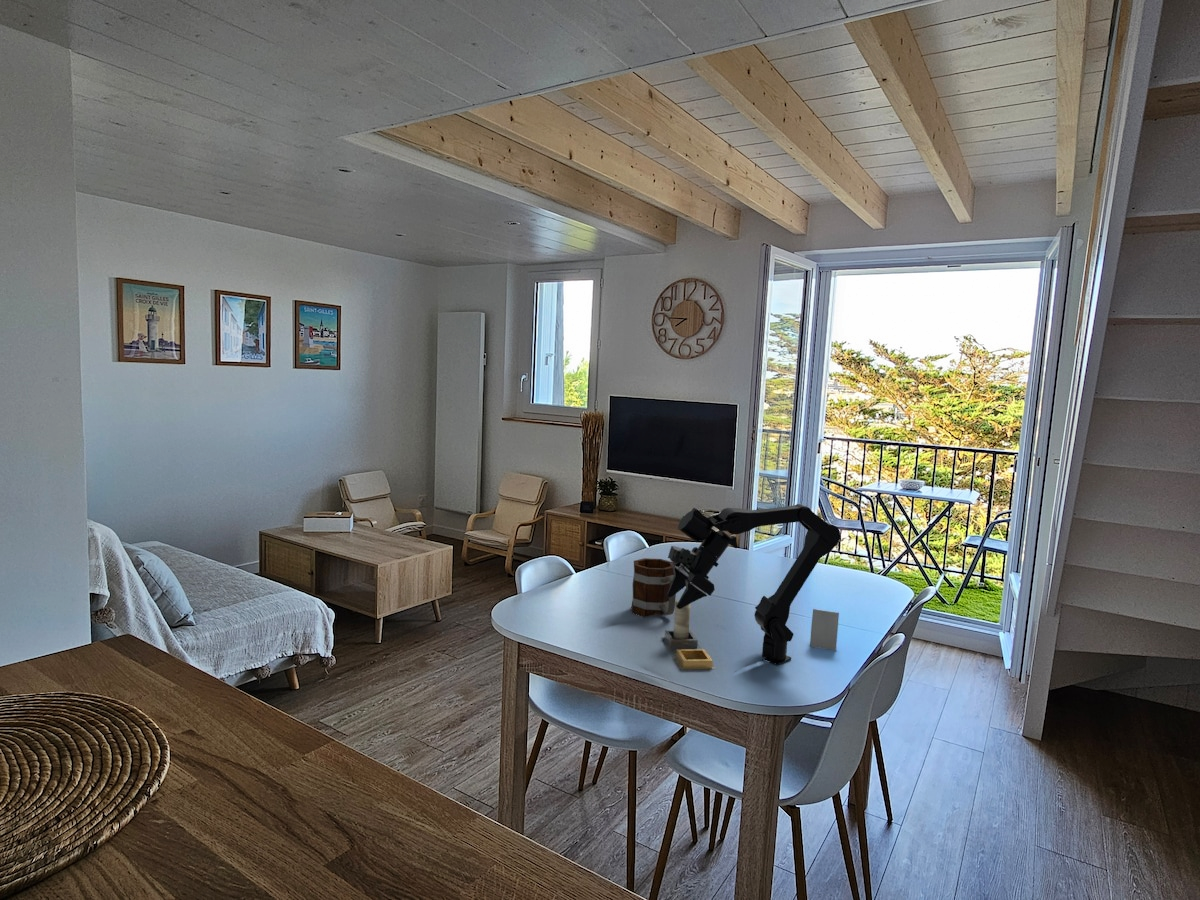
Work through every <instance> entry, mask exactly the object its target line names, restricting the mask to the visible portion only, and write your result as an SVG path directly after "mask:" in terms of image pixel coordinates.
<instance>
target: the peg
mask: <svg viewBox="0 0 1200 900" xmlns="http://www.w3.org/2000/svg"><path fill="white" fill-rule="evenodd" d="M679 600H680V599H678V600H675V609H674V621H673V631H674V636H673V639H688V638H689V630H690V620H691V617H690V616H691V603H690V604H689V605H687V606H685V607H683V608H681V609H678V608H677V607H676V606H677V604H678V602H679Z"/></svg>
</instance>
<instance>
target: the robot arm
mask: <svg viewBox="0 0 1200 900" xmlns="http://www.w3.org/2000/svg"><path fill="white" fill-rule="evenodd" d="M791 523H799V524H800V525H801V526H802V527H803V528H804V529H806V530H807V531H806V534H805V535H804V544H803V548H802V550H801V552H799V555H798V556H797V558H796V559H795V561H794V562H793V564H792V565H791V567H790V569H789V570H788V572H787V573H786V574H785V577H784V578H783V580H782V581H781V583H779V586H778V588H777V589H776V591H775V593H773V594H772V595H771V596H769V597H767V596H766V595H763V596H762V597H761V598H760V601H759V603H758V604H757V605H756V606H755V607H754V608H755V611H754V619H755V622H756V623H757V624H758V625H759V626H760V629H761V630H762V631H763V632H764V635H763V639H762V640H763V642H762V649H761V650H762V652H761V656H762V657H763V658H762V660H763V661H765V662H769V663H770V664H773V665H775V666H778V665H782V664H784V663H786V662H788V661H791V660H792V657H791V656H790V655H787V650H788V642H792V639H793V637H794V632H793V631H792V630H791V629H789V627H788V626H787V622H788V619H789V616H790V610H791V606H792V603H793V602H794V600H795V599H796V597H797V596H798V594H799V592H800V591H801V589H802V587H803V586H804V584H805V583H806V581H807V579H808V578H809V576H810V575H811V574H812V572H813V571H814V569H815V567H816V566H817V564H818V563H819V561H820V559H821V558H823V557H825V556H826V555H828V554H829V553H831V552H832V551H833V549H835V547H836V546H837V545H838V544H839V542H840V540H841V539H842V535H841V531H840V529H839V527H838V526H837V525H834V524H832V523H829V522H827V521H825V520H824V519H822V517H820V516H819V515H817V514H816V513H815V512H814V511H812V510H811V508H810V507H808V506H805V505H803V504H801V503H797V504H794V505H786V506H780V507H779V506H777V507H770V508H759V509H747V508H746V509H745V508H741V507H740V508H738V507H737V508H736V507H726V508H723V509H721V511H720V512H719V513H717V514H715V515H712V516H708V517H707V516H706V515H704V514H703V513H702V512H701V511H700V510H699V509H697V508H695V507H692V509H691V511H688V512H687V513H686V514H685V515H683V516H682V518H680V521H679V523H678V524H677V525H678V526H677V530H679V531H680V532H681V533H682V534H684V535H685V536H687V537H688V538H690V539H691V540H692V541H693V542H696V543H698V542H701V543H700V544H699V546H698V547H697V546H695V547H693V548H692V549H691V550H689V549H687V548H684V547H683V548H682V547H679V546H676V545H675V546H674V545H671V546H670V549H669V553H668V556H667V558H668V559H669V561H670V562H672V563H673V564H674V565H675V567H674V566H672V568H673V571H674V577H673V580H672V583H671V585H670V588H669V591H668V593H667V596H668V597H672V596H673V595H675V594H676V595H677V594H678V593H679V592H680V591H682V589H684V588H685V589H684V591H683V592H682V594H681V596H680V598H679V599H678V600H679V602H678V604H677V606H676V607H677V608H678V609H681V608H683V607H685V606H687V605H689V604H690V605H691V604H692V603H694V602H696V601H699V600H700V599H702V598H705V597H708V596H712V594H713V592H714V591H716V590H715V584H714V583H713V582H712V581H711V580H710V579H709V578H710V577H709V576H708V575H709V573H710V572H711V570H712V569H713V567H715V568H717V567H718V566H719V562H718V560H719V559H720V558H721V556H722V555H723V554H724V552H725V551H726V550H727V549H728V547H729V546H731V547H733V548H734V549H738V547H739V546H738V543H737V537H736V536H735V535H740V534H743V533H747V532H749V531H752V530H753V529H755V528H759V527H764V526H773V525H784V524H791ZM713 527H714V528H715V529H717V530H719V531H716V530H715V529H713ZM726 532H727V533H729V534H731V535H728V534H727V533H726Z"/></svg>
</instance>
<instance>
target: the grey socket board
mask: <svg viewBox="0 0 1200 900" xmlns="http://www.w3.org/2000/svg"><path fill="white" fill-rule="evenodd" d="M673 636H674V630H664V637H660V638H661V640H662V642H663V643H664V646H665V647H666V648H667V650H668V651H669V653H670V655H671V657H672V658H673V660H674V662H675V663H676V665H677V667H678V669H679V670H681V671H682V670H717V668H716V667H715V665H714V664H713V659H712V658H711V656H710V654H709V653H708V652H707V651H706V650H705V648H702V647H701V646H700V645H699V643H698V642H699V640H698V638H697V637H696V636H695V634H694V633H693V631H692V630H690V629H689V638H688V639H673Z"/></svg>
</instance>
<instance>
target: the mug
mask: <svg viewBox="0 0 1200 900" xmlns="http://www.w3.org/2000/svg"><path fill="white" fill-rule="evenodd" d="M672 566H674V567H675V565H674V564H673V563H672V561H671V560H666V559H662V558H649V557H648V558H646V557H644V558H641V559H636V560H635V559H634V560H633V579H632V601H631V602H632V603H631V606H630V607H631V608H632V609H631V613H632V614H633V613H634V614H633V615H636V614H637V615H636V616H638V615H639V616H638V617H641V616H642V617H641V618H646V617H651V616H655V615H666V616H667V615H668V616H669V615H673V614H674V613H675V602H676V598H677V597H676V596H677V593H676V594H675V595H673V596H672V597H668V596H667V593H668V591H669V588H670V585H671V583H672V580H673V577H674V571H673V568H672Z"/></svg>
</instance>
